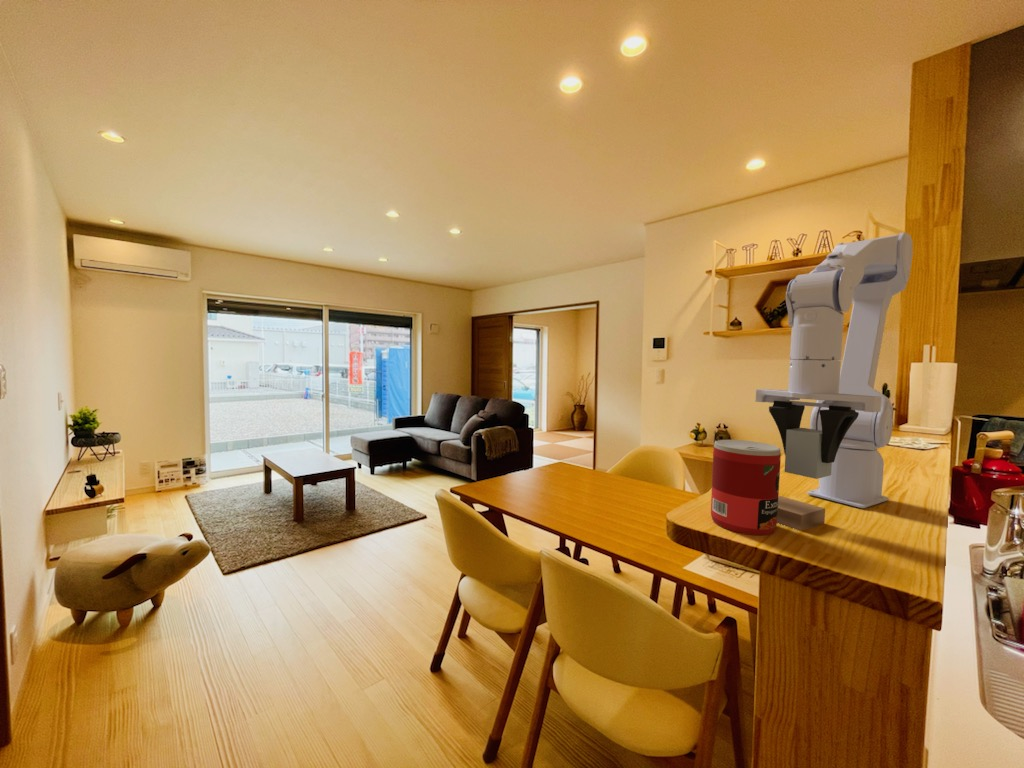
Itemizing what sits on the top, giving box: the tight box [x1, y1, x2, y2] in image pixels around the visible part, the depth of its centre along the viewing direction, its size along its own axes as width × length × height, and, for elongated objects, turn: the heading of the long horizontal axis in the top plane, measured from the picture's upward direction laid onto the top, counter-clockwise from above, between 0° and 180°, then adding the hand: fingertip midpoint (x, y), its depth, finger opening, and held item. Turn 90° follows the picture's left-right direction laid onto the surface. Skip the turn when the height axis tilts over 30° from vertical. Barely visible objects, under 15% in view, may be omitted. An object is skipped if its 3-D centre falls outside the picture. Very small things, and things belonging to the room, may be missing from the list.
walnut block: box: [777, 495, 826, 532], centre depth 60 cm, size 6×6×2 cm
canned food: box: [710, 439, 782, 536], centre depth 58 cm, size 8×8×11 cm
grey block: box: [784, 427, 832, 480], centre depth 59 cm, size 4×4×6 cm
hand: (808, 458), depth 59 cm, fingers closed on grey block, 4 cm apart
